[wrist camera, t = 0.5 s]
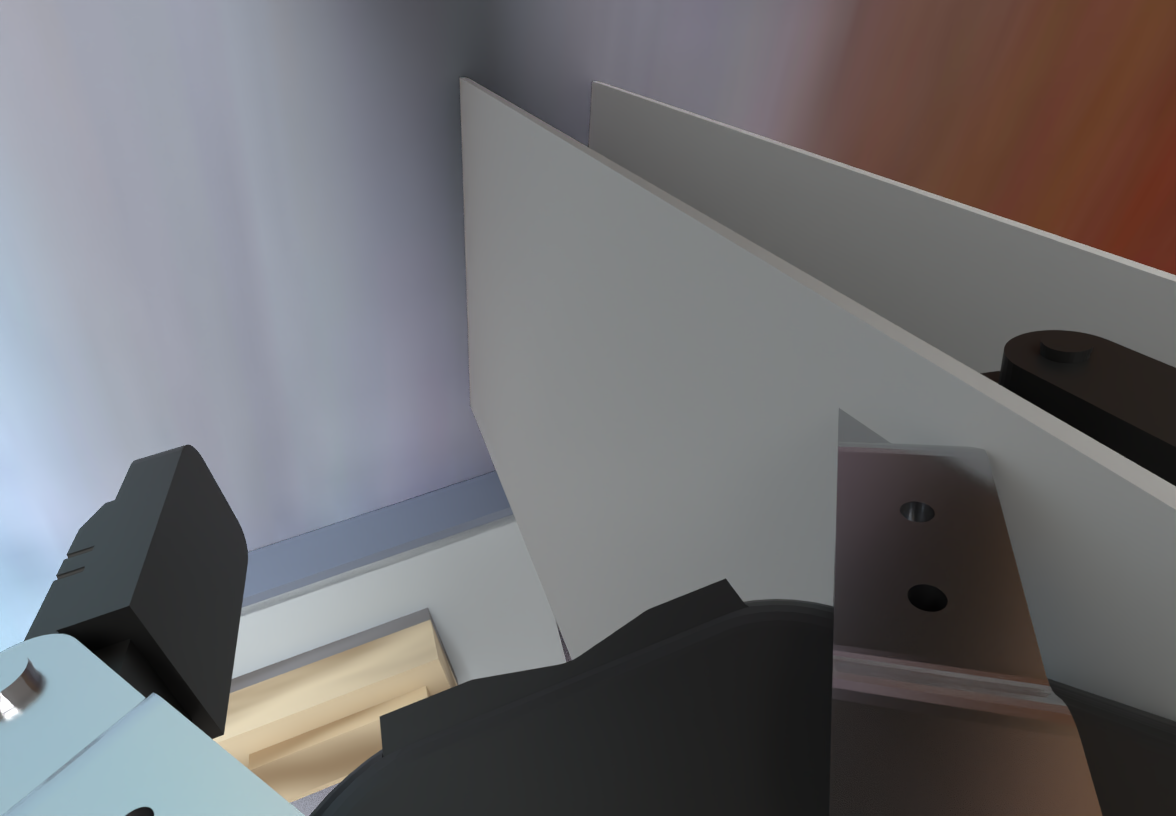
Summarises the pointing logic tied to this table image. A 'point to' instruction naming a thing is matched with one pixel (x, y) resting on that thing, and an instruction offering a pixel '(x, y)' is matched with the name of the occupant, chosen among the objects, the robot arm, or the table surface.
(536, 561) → the grey panel
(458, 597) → the large white box
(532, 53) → the table surface
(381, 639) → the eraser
